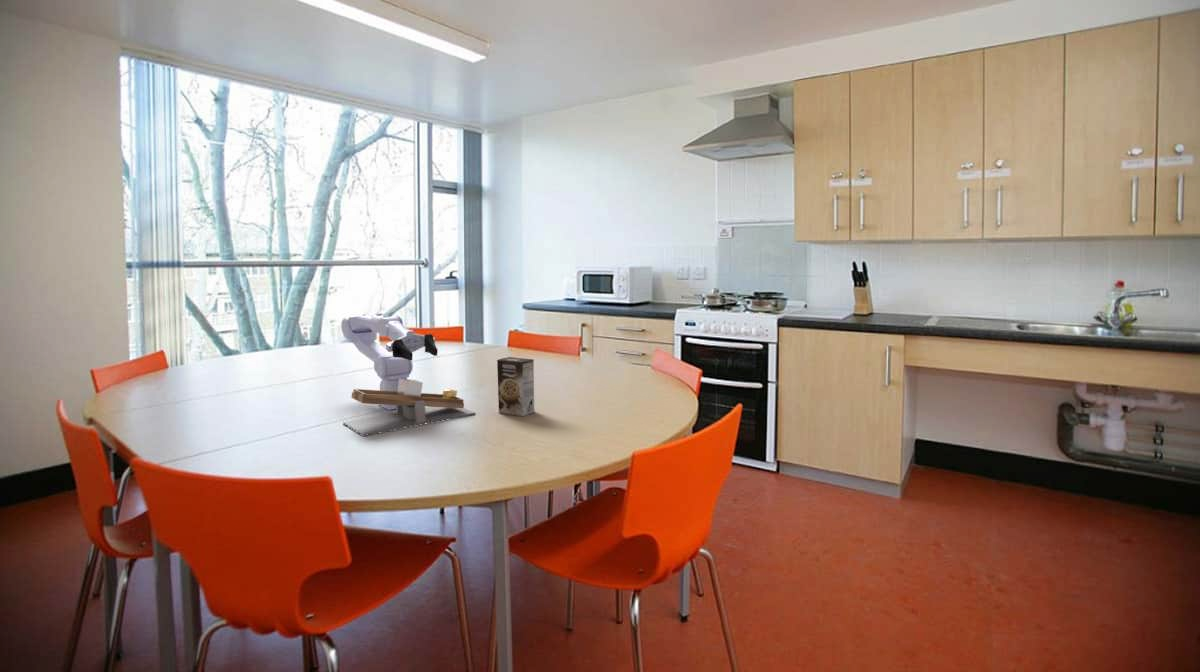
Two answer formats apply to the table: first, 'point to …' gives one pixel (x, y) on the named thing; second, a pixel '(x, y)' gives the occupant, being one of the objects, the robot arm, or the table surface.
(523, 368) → the coffee box
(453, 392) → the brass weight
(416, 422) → the beam stand
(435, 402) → the beam
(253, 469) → the table surface
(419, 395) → the steel block
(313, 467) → the table surface
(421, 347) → the robot arm
